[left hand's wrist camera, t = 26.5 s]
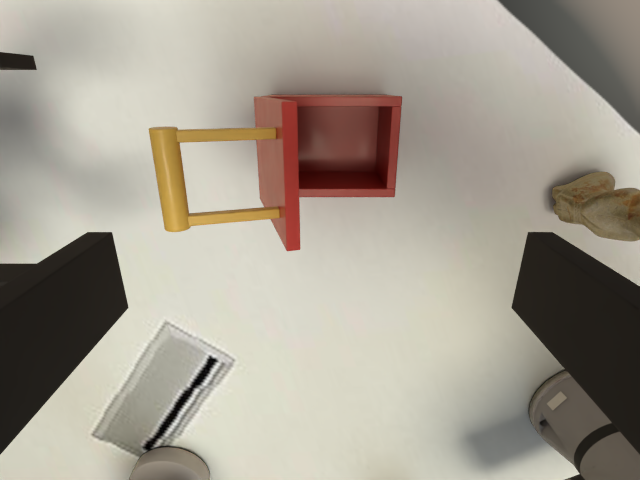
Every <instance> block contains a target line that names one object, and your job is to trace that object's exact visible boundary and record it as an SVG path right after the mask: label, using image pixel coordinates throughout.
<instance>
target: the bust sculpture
mask: <svg viewBox="0 0 640 480" xmlns="http://www.w3.org/2000/svg"><path fill="white" fill-rule="evenodd" d="M209 479H210V475H209V470H208V468H207V466H206V465H205V463H204V462H203V461H202V460H201V459H200V458H199V457H197V456H196V455H194V454H192V453H190V452H188V451H186V450H182V449H178V448H171V447H164V448H157V449H153V450H151V451H148V452H147V453H145V454H144V455H142V456H141V457H140V459H139V460H138V462H137V464H136V466H135V468H134V470H133V472H132V474H131V476H130V479H129V480H209Z"/></svg>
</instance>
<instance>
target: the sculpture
mask: <svg viewBox="0 0 640 480" xmlns="http://www.w3.org/2000/svg"><path fill="white" fill-rule="evenodd" d="M614 186H615V179H614V177H613V176H612V175H611V174H609V173H607V172H595V173H591V174H588V175H586V176H583V177H581V178H579V179H577V180H575V181H573V182H571V183H569V184H566V185H563V186H561V185H558V186H556V187H554V188H553V189H552V197H553V199H554V200H555V201H556V203H555V204H554V205H553V208H554V212H555V214H557V215H558V217H559V219H560V220H561V221H565V222H567V223H573V224H582V225H585V226H586V227H587V228H588V229H590V230H591V231H592V232H593V233H594V234H596V235H597V236H600V237H603V238H609V239H615V240H622V241H637V240H640V190H638V189H635V188H623V189H617V190H614Z"/></svg>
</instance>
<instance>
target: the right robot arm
mask: <svg viewBox="0 0 640 480" xmlns="http://www.w3.org/2000/svg"><path fill="white" fill-rule="evenodd" d="M0 70H37V69H36V65H35V61H34V57H33V56H30V55H21V54H12V53H3V52H0ZM34 265H36V264H0V286H2V285H4V284H5V283H7V282H8V281H10V280H12V279H13V278H15V277H17V276H18V275H20V274H21V273H23V272H25V271H26V270H28V269H29V268H31V267H33V266H34Z"/></svg>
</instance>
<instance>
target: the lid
mask: <svg viewBox="0 0 640 480" xmlns="http://www.w3.org/2000/svg"><path fill="white" fill-rule="evenodd" d="M254 108H255V124H256V128H224V129H187V130H178V128H177V127H153V128H149V134H150V140H151V147H152V153H153V159H154V165H155V171H156V177H157V183H158V190H159V196H160V202H161V208H162V214H163V220H164V227H165V230H166V231H169V232H180V231H184V230H187V229H189V228H190V227H191V226H196V225H207V224H218V223H229V222H241V221H252V220H263V219H271V221H272V223H273V225H274V227H275V229H276V231H277V233H278V235H279V237H280V238H281V240H282V242H283V244H284V246H285V248H286V250H287V251H293V250H300V215H299V168H298V121H297V102H296V101H290V100H283V99H276V98H270V97H254ZM236 140H256V141H257V157H258V173H259V190H260V199H261V201H262V203H263V205H264V208H252V209H239V210H227V211H214V212H202V213H190V214H189V210H188V202H187V195H186V188H185V180H184V173H183V165H182V158H181V151H180V143H179V142H208V141H236Z"/></svg>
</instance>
